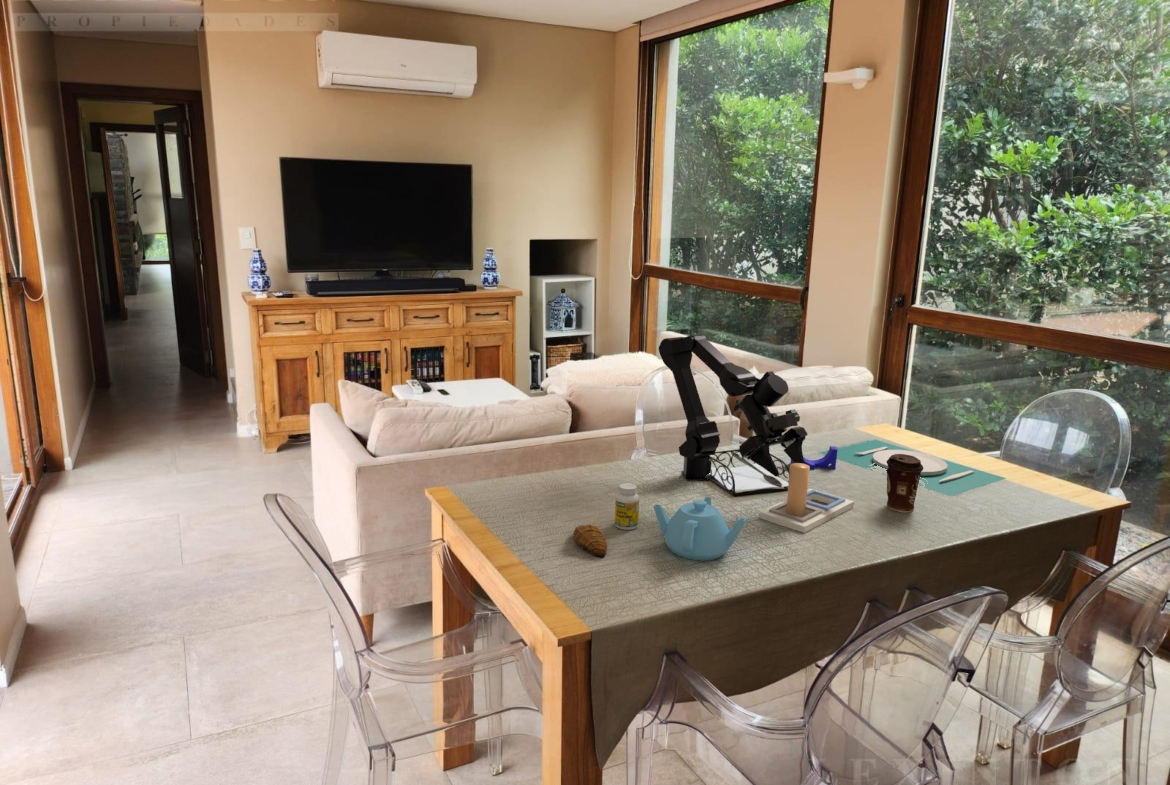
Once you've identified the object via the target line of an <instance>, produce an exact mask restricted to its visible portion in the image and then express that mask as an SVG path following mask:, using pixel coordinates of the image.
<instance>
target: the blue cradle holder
mask: <svg viewBox="0 0 1170 785" xmlns="http://www.w3.org/2000/svg"><path fill="white" fill-rule="evenodd" d="M837 448H838V447H836V446H833V445H832V446H831V445H830V446H829V448H828V450H829V451H828V450H827V451H828V453H827V454H826V455H824V456H822V457H821V458H819V459H814V460H813V459H808V458H805V457H804V456H803V458H804V464H806V465H808V466H810V470H814V471H815V469H827V470H836V466H837V460H838V459H837ZM793 463H794V462H793V461H792V459H791V458H790V465H791V464H793Z"/></svg>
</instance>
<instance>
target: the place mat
mask: <svg viewBox="0 0 1170 785" xmlns="http://www.w3.org/2000/svg"><path fill="white" fill-rule="evenodd" d="M836 448H837V459H836V460H839V461H842V462H845V463H848V464H852V465H854V466H858V467H861V468H864V469H866V470H870V471H873V470H872V469H867V468H871V467H874V466H877V465H878V466H880V467H882V468H885V469H887V470H886V471H888V465H887V460H888V459H889V457H890V456H892V455H894V454H906V455H911V456H914V457H916V458H918V459H919V460H920V461H921V465H922V466H923V470H922V471H921V473H920V474H921V476H920V477H921V478H920V480H922V481H923V482H924V483H925V487H924V489H927V490H929V491H933V492H936V493H938V494H942V495H945V496H948V497H954V496H956V495H960V494H962V493H966V492H968V491H969V492H970V491H971V490H975V489H979V488H981V487H984V486H987V485H991V484H994V483H997V482H1000V481H1003V480H1006V479H1007V478H1006V477H1004V476H1000V475H998V474H997V475H996V474H993V473H990V472H988V471H983V470H980V469H976V468H973V467H969V466H967V465H963V464H959V463H956V462H953V461H950V460H946V459H943V458H940V457H938V456H934V455H932V454H927V453H924V452H920V451H915V450H912V449H909V448H905V447H902V446H899V445H896V444H891V443H889V442H885V441H882V440H878V439H872V440H868V441H864V442H859V443H855V444H850V445H847V446H842V447H841V446H840V447H836ZM828 451H829V449H828V450H824V451H820V452H819V454H822V455H824V456H825V455H826V454H827V453H828ZM873 463H875V464H874V465H872V466H869V465H871V464H873ZM873 469H876V468H873ZM873 472H874V471H873ZM886 473H887V472H886ZM882 475H884V473H883V474H882ZM884 476H887V475H886V474H885V475H884ZM922 478H924V479H926V480H927V481H928V482H927V481H926V480H924V479H922ZM927 483H928V484H927ZM920 486H923V485H922V484H921V483H919V486H918V487H920Z"/></svg>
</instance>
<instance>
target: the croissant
mask: <svg viewBox="0 0 1170 785" xmlns="http://www.w3.org/2000/svg"><path fill="white" fill-rule="evenodd" d="M572 535H573V539H574V540H575V541H576V543H577V544H578V546H579V547H580V548H582V549H584V550H585V551H587V552H588V553H589V554H591V555H593V556H596V557H599V558H603V557H606V554H607V550H608V544H607V542H606V537H605V534H604V532H603V531H602V530H601V529H600V528H599V527H598V526H595V525H592V524H586V525H582V524H581V525H578V526H575V529H574V531H573V533H572Z"/></svg>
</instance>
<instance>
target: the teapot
mask: <svg viewBox="0 0 1170 785" xmlns="http://www.w3.org/2000/svg"><path fill="white" fill-rule="evenodd" d="M653 510H654V513H655V516H656V519H657V522H658V525H659V527H660V531H661V533H662V536H664V541H665V544H666V546H667V547H668V549H669V550H670V551H671V552H672V553H673V554H675V555H676V556H679V557H680V558H684V559H686V560H692V561H693V560H694V561H710V560H711V561H712V560H716V559H718V558H720V557H722V556H723V555H724V554H725V553H726V552H727V551H728V550H730V548H731V546H732V545H733V544H734V542H735V540H736V539H737V538H738V535H739V534H740V532H741V530H742V528H744V525H745V524H746V521H747V520H748V519H747V518H744V517H738V519H737V521H736V522H735V523H734V525H733V526H732V528H731V529H729V527H728V523H727V522H726V519H724V516H723V515H722V513H721V511H720V510H719V509H718V508H717V507H716V506H714V505H712V498H711V497H710V496H709V497H708V496H705V498H704V499H703V500H701V499H696V500H693V502H688V503H687V502H686V503H684V504H682V505H681V506H680V507H679V508H678V509H677V510H676V511H675V513H674V514H673V515H672V517H671V518H670V517H669V515H668V514H667V512H666V511H665V509H664V507H663V505H662V504H658V503H657V504H653Z"/></svg>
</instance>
